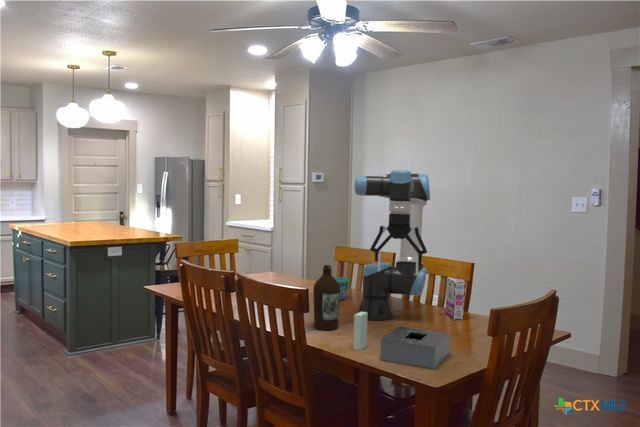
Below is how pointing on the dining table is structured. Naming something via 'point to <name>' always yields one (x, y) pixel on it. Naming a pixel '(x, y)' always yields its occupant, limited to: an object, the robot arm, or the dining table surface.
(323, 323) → the olive oil
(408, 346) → the grey slotted box
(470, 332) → the dining table surface
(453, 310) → the candy bar box
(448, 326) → the dining table surface
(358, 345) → the pale green flat block
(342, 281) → the snack cup
